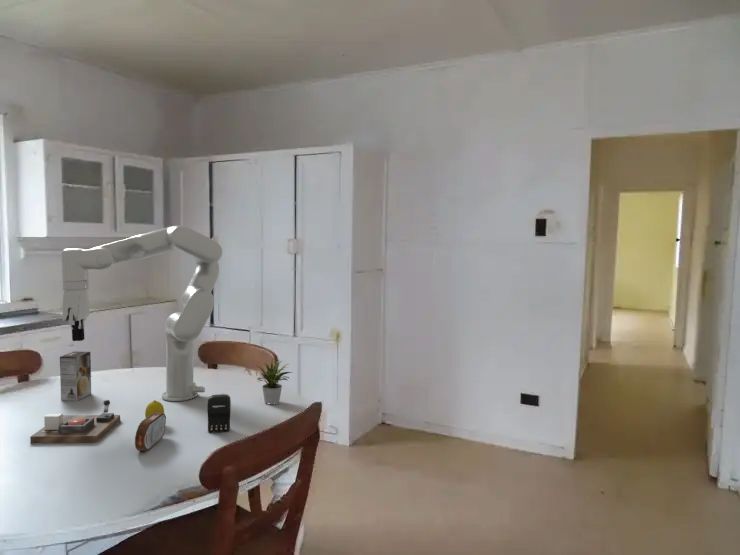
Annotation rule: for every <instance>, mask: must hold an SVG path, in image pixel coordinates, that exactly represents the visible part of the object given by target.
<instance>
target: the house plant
mask: <svg viewBox="0 0 740 555" xmlns="http://www.w3.org/2000/svg"><path fill="white" fill-rule="evenodd" d="M273 362H274V359H273V358H272V359H271V363H270V366H269V365H268V364H267V363H266V362H264V363H263V365H265V367H266V370H265V368H264V367H263V366H262V365H261V364H259V365H256V368H257V367H258V368H259V370H261V373H260V375H262V376H263V377H264V378H265V379H263V378H262V377H258V378H256V381H258V382H261V381H262V382H265V384H263V385H262V386H261V387H262V393H263V400H264V404H265V403H270V404H274V403H278V402H279V403H280V401H281V400H280V399H281V393H282V388H283V386H282V384H280V383H279V382H280V381H282V380H283V381H284V380H285V381H288V379H290V377H289V376H284V375H287V374H290V373H291V374H292V373H293V371H285V369H286V368H289V367H286V366H287V365H289V363H287V364H284V365H283V366H282V367H281V368H280V369H278V367H279V365H280V364H281V362H282V361H280V359H279V360H277V361H276V362H275V364H273ZM283 371H284V372H283ZM290 380H291V379H290ZM279 403H278V404H279Z"/></svg>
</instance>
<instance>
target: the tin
mask: <svg viewBox="0 0 740 555" xmlns="http://www.w3.org/2000/svg"><path fill="white" fill-rule="evenodd" d="M166 421H167V416H166V414H165V412H164V413H157V412H154V413H153V414H151V415H150V416H148V417H147V418H146V417H145V418H144V419H143V420H141V422H140V423H139V424H138V426H137V429H136V432H135V436H134V446H135V449H136V450H137V451H143V452H146V451H147V452H148V451H149V450H151V448H153V447H155V445H157V444H158V443H159V442H160V441H161V439H163V436H164V435H165V431H166Z"/></svg>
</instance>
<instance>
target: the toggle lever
mask: <svg viewBox="0 0 740 555" xmlns="http://www.w3.org/2000/svg"><path fill="white" fill-rule="evenodd" d="M103 404H104V405H103V406H104V407H103V413H109V406H110V404H111V401H110V400H109V399H106V400H104V401H103Z"/></svg>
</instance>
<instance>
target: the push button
mask: <svg viewBox="0 0 740 555" xmlns="http://www.w3.org/2000/svg"><path fill="white" fill-rule="evenodd" d="M84 423H86V419H84V418H76V419H72V420H69V421H68V425H83V424H84Z"/></svg>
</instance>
